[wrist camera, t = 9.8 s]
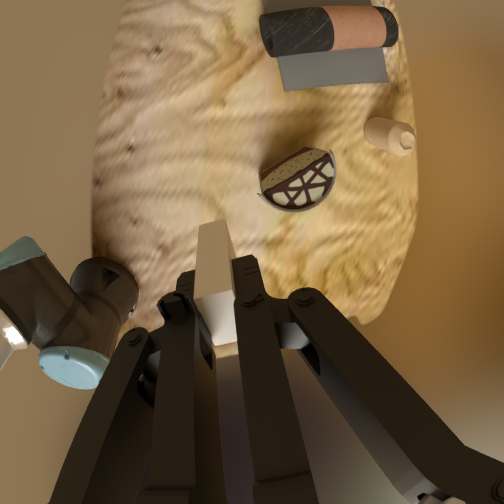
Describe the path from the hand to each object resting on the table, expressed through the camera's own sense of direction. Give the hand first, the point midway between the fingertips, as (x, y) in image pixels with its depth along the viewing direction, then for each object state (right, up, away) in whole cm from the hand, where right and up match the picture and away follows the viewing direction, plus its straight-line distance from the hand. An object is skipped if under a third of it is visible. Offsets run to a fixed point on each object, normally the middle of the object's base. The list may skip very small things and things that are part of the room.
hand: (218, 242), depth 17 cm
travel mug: (+4, +30, +16) cm, 34 cm away
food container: (+8, +13, +32) cm, 35 cm away
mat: (+14, +34, +19) cm, 42 cm away
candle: (+24, +21, +29) cm, 43 cm away
